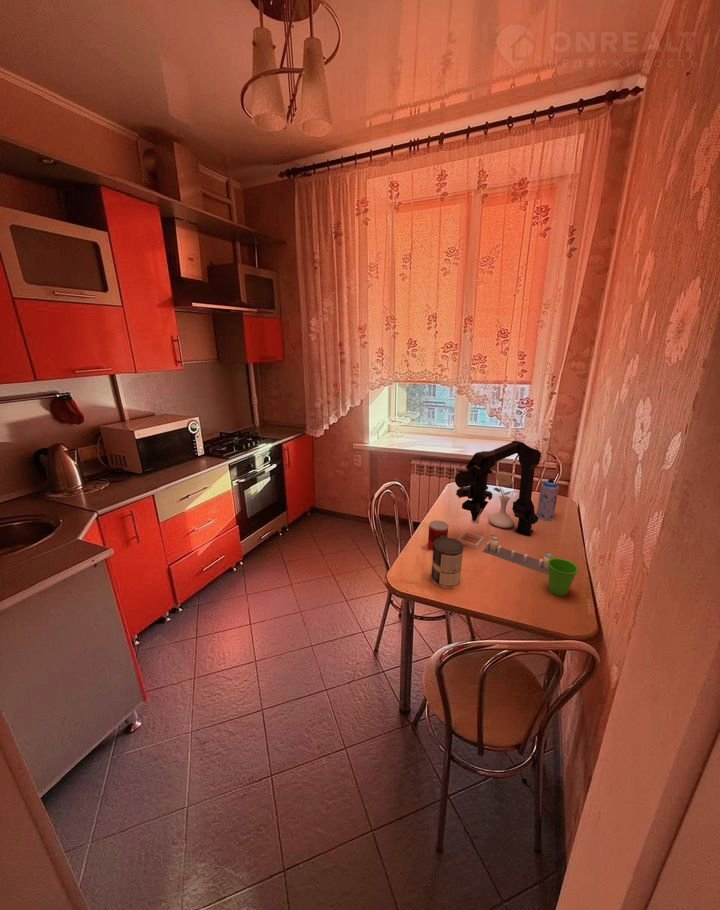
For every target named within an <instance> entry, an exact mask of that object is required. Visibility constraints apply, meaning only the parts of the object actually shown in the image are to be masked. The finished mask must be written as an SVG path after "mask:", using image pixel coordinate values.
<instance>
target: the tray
mask: <svg viewBox="0 0 720 910" xmlns="http://www.w3.org/2000/svg"><path fill="white" fill-rule="evenodd" d="M465 537H470V538H473V539H476V540H477V542H476V543H475V542H470V541H467V540H465V539H464V538H465ZM456 540H458V541H460V542H461V543H462V544H463V546H464V545H465V546H468V547H471V548H474V549H478V548H479V547H480V546H481V544H483V542H484V541H485V537H484V536H482V535H478V534H476V533H473V532H469V531H467V530H464V531H463V532H462V533H461V534H460V535H459V536H458V537H457V538H456Z"/></svg>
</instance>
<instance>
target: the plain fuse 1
mask: <svg viewBox="0 0 720 910" xmlns="http://www.w3.org/2000/svg"><path fill="white" fill-rule="evenodd" d="M499 539H500V536H499V535H496V534H491V535H490V541H489V542H490V548H489V550H490V551H492V552H497V547H498V546H499Z"/></svg>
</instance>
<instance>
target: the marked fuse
mask: <svg viewBox="0 0 720 910" xmlns="http://www.w3.org/2000/svg"><path fill="white" fill-rule="evenodd" d="M480 517H481V515H480V514H479V515H478V517H477V519H476V521H473V520H472V519H471V522H472V524H475V525H478V524H479V523H480V520H481V519H480Z"/></svg>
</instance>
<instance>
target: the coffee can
mask: <svg viewBox="0 0 720 910" xmlns="http://www.w3.org/2000/svg"><path fill="white" fill-rule="evenodd" d="M464 549H465V547H464V544H462V543H461V542H460V541H458V540H457V538H456V539H455V538H452V537H447V538H438V539H436V540H435V541H434V543H433V550H432V562H431V575H430V579H431V580H430V581H432V583H433V584H434V585H436V586H437V587H440V588H442V587H443V588H442V589H454V588H457V587H458V586H459V585H460V584H461V575H462V573H461V572H462V565H463V564H462V562H463V553H464Z"/></svg>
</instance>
